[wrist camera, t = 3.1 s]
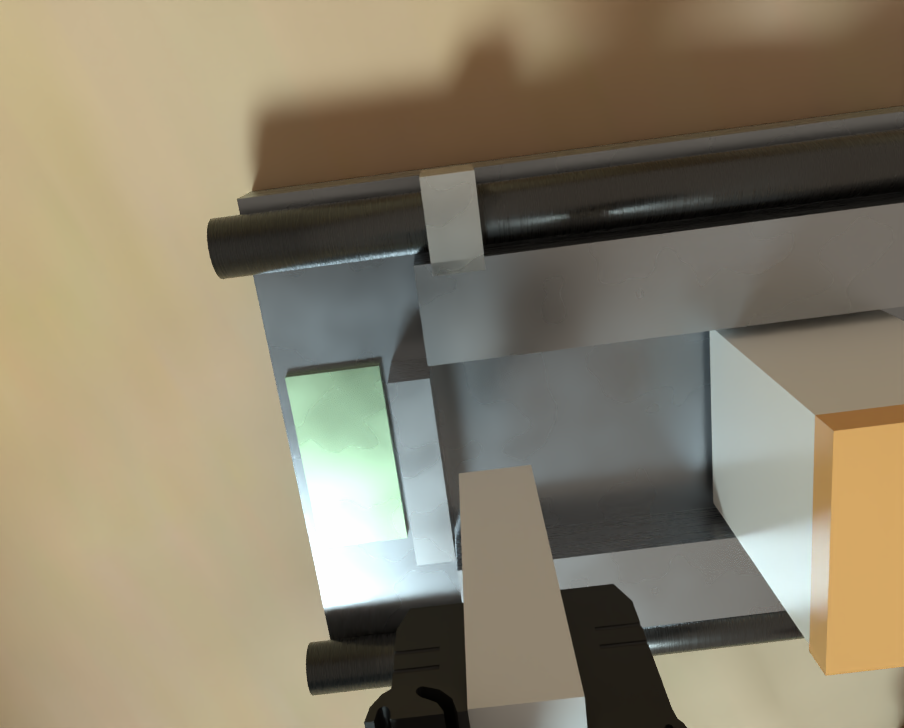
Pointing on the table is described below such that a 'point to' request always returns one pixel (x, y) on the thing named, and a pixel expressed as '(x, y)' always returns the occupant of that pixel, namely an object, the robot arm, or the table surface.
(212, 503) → the table surface
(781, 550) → the orange grey block
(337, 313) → the panel
